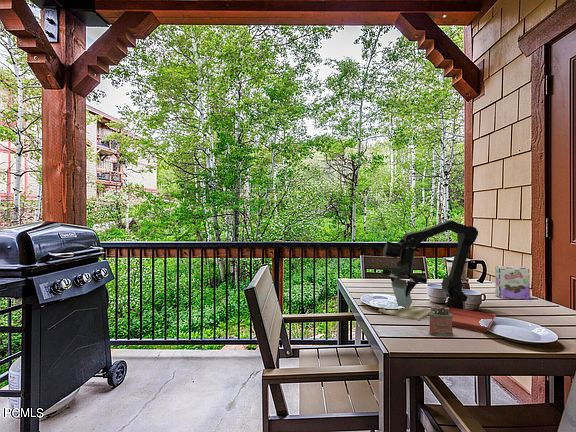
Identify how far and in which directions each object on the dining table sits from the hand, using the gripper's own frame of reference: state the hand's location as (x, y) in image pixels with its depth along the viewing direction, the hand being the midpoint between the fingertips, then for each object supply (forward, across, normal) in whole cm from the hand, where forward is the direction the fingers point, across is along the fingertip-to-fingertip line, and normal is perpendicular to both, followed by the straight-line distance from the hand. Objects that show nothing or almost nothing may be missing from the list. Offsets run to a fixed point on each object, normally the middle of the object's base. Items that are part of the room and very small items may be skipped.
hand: (400, 295), depth 136 cm
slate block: (+4, 0, +6) cm, 7 cm away
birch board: (+7, +1, +5) cm, 9 cm away
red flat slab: (+5, +25, +8) cm, 27 cm away
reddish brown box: (+9, +23, -11) cm, 27 cm away
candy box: (-9, +27, +68) cm, 74 cm away
